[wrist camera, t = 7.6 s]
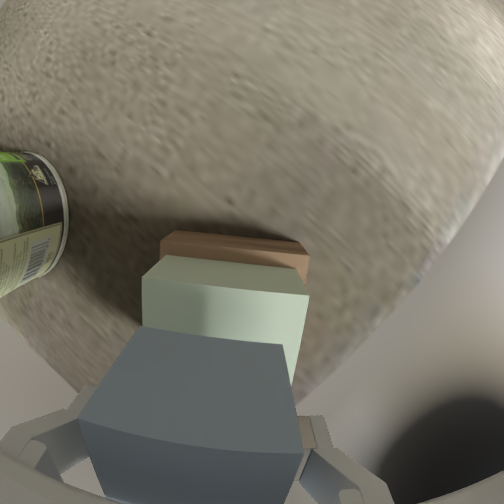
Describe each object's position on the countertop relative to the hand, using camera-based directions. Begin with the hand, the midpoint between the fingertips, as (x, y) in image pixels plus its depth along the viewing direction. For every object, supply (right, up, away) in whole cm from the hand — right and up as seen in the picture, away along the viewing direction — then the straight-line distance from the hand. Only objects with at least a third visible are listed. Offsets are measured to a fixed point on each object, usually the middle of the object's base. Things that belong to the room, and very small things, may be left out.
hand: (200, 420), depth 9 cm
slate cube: (0, 0, +2) cm, 2 cm away
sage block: (0, +2, +8) cm, 8 cm away
